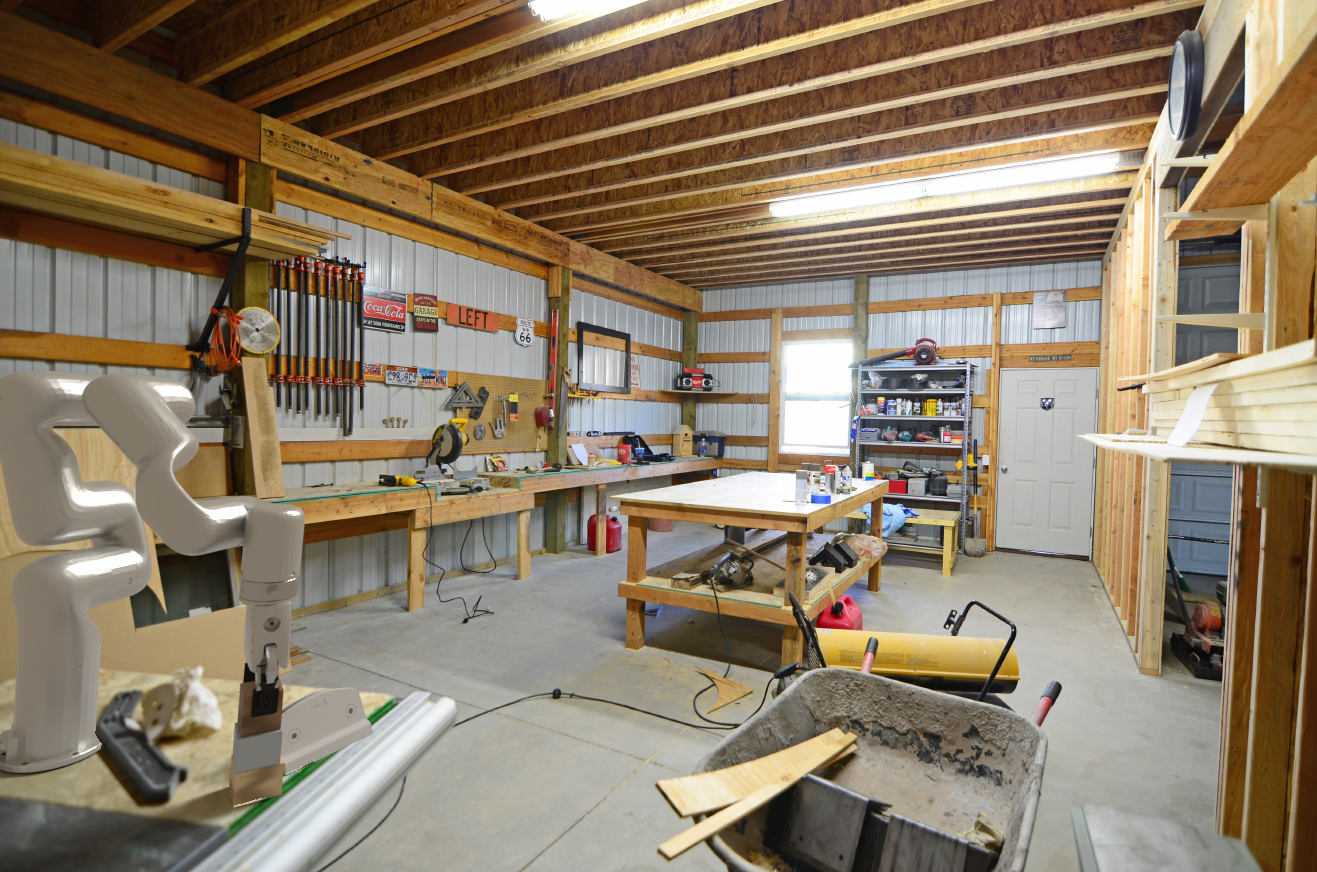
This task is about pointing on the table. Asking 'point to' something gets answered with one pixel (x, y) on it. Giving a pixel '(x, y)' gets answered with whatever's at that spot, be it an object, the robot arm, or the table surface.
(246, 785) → the oak block
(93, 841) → the table surface
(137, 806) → the table surface
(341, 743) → the beige mounting bracket
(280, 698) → the walnut block
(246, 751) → the grey block
